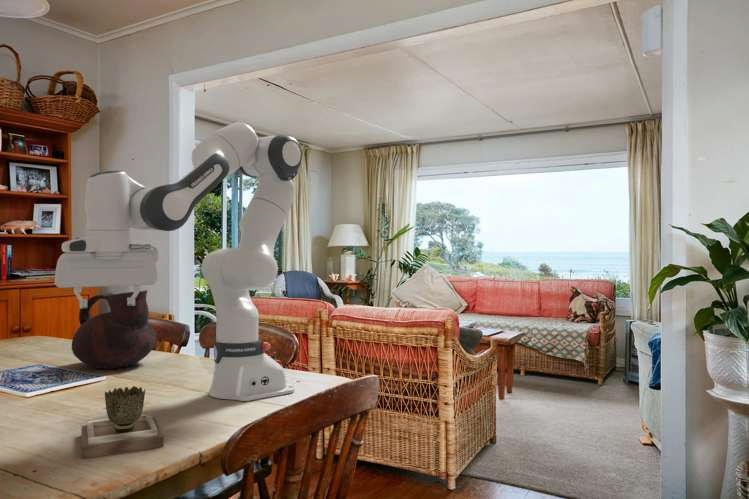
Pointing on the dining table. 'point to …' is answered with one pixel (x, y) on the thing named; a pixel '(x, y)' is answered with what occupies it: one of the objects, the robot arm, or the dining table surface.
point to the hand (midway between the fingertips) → (107, 306)
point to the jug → (114, 332)
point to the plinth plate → (120, 437)
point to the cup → (124, 407)
